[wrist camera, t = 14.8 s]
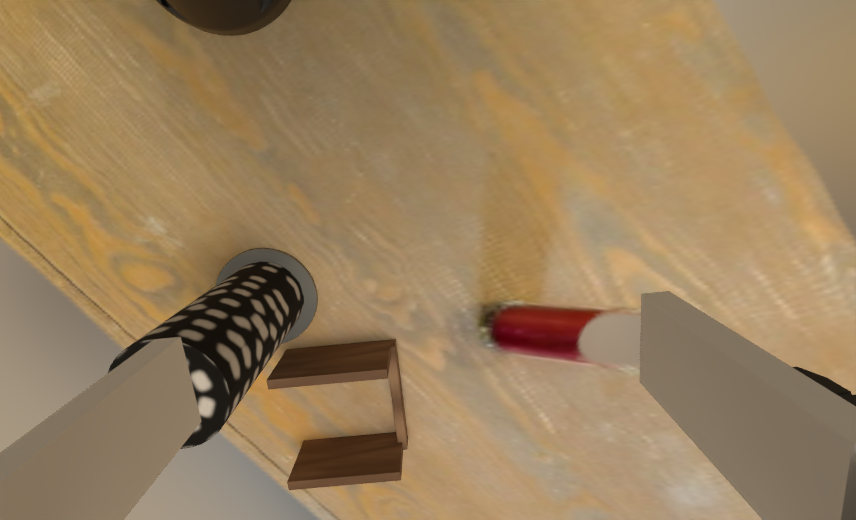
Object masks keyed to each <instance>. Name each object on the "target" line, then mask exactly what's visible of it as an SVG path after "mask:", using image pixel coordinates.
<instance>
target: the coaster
mask: <svg viewBox="0 0 856 520" xmlns="http://www.w3.org/2000/svg"><path fill="white" fill-rule="evenodd" d="M254 262H271V263H275V264H278V265H280V266H282V267H284V268H285V269H287V270H288V271H290V272H291V273H292V274H293V275H294V276H295V277H296V279H297V280H298V282H299V283H300V286H301V288H302V291H303V295H304V306H303V311H302V313H301V315H300V317H299V319H298V320H297V321H296V323H295V324H294V326H293V327H292V329H291V330H290V331H289V333H288V334H287V336H286V337H285V338H284V340H283V341H282V343H285V342H288V341H290V340H293V339H294V338H296V337H298V336H299V335H300V334H301V333H303V332H304V331H305V330H306V328H307V327H308V326H309V324H310V323H311V321H312V319H313V317H314V315H315V312H316V308H317V299H318V298H317V290H316V286H315V283H314V281H313V278H312V277H311V275H310V273H309V272H308V270H307V269H306V268H305V267H304V266H303V265H302V264H301V263H300V262H299V261H298V260H297V259H295V258H294V257H292V256H291V255H289V254H287V253H285V252H282V251H279V250H275V249H268V248H258V249H252V250H249V251H245V252H243V253H241V254H239V255H237V256H236V257H234V258H233V259H231V260H230V261H229V262H228V263H227V264H226V265H225V266H224V268H223V269H222V271H221V272H220V274H219V277H218V279H217V283H216V285H218V284H219V283H221V282H222V281H223V280H225V279H226V278H228V277H229V276H231V275H232V274H233V273H235V272H236V271H238V270H239V269H241V268H242V267H244V266H246V265H248V264H251V263H254ZM282 343H281V344H282Z"/></svg>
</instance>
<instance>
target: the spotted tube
mask: <svg viewBox="0 0 856 520" xmlns="http://www.w3.org/2000/svg"><path fill="white" fill-rule="evenodd" d="M303 306H304V295H303V291H302V288H301V286H300V283H299V282H298V280H297V279H296V277H295V276H294V275H293V274H292V273H291V272H290V271H288V270H287V269H285V268H284V267H282V266H280V265H278V264H275V263H271V262H254V263H251V264H248V265H246V266H244V267H242V268H241V269H239V270H238V271H236V272H235V273H233V274H232V275H231V276H229V277H228V278H226V279H225V280H223V281H222V282H221V283H219V284H218V285H216V286H215V287H213V288H212V289H211V290H209V291H208V292H206V293H205V294H203V295H202V296H201V297H199V298H198V299H196V300H195V301H193V302H192V303H190V304H189V305H188V306H186V307H185V308H183V309H182V310H180V311H179V312H178V313H176V314H175V315H173V316H172V317H170V318H169V319H168V320H166V321H165V322H163V323H162V324H160V325H159V326H158V327H156V328H155V329H153V330H152V331H150V332H149V333H148V334H146V335H145V336H143V337H142V338H140V339H139V340H138V341H136V342H135V343H133V344H132V345H130V346H129V347H127V348H126V349H125V350H123V351H122V352H121V353H120V354H119V355H118V356H117V357H116V358H115V360H114V361H113V363H112V364H111V366H110V368H109V371H108V373H109V372H111V371H112V370H113V369H115V368H116V367H117V366H119V365H120V364H121V363H123V362H124V361H125V360H127V359H128V358H130V357H131V356H132V355H134V354H135V353H136V352H138V351H139V350H140V349H142V348H143V347H144V346H146V345H147V344H149V343H150V342H151V341H153V340H154V339H163V338H174V337H181V341H182V345H183V349H184V353H185V357H186V361H187V365H188V369H189V373H190V377H191V381H192V385H193V389H194V393H195V397H196V401H197V405H198V409H199V413H200V417H201V421H202V422H201V423H200V424H199V425H198V427H197V428H196V429H195V430H194V432H193V433H192V434H191V436H190V437H189V438H188V439H187V441H186V442H185V443H184V444H183V446H182V447H181V448H180V449H183V448H190V447H194V446H197V445H200V444H202V443H204V442H206V441H207V440H209V439H211V438H212V437H213V436H214V435H215V434H217V433H218V432H219V430H220V429H221V428H222V426H223V425H224V424H225V422H226V421H227V419H228V418H229V416H230V415H231V414H232V412H233V411H234V409H235V408H236V407H237V405H238V404H239V402H240V401H241V399H242V398H243V397H244V395H245V394H246V392H247V391H248V390H249V388H250V387H251V385H252V384H253V382H254V381H255V380H256V378H257V377H258V375H259V374H260V373H261V371H262V370H263V368H264V367H265V365H266V364H267V363H268V361H269V360H270V358H271V357H272V356H273V354H274V353H275V351H276V350H277V348H278V347H279V346H280V344H281V343H282V341H283V340H284V338H285V337H286V336H287V334H288V333H289V331H290V330H291V329H292V327H293V326H294V324H295V323H296V321H297V320H298V319H299V317H300V315H301V313H302V311H303Z"/></svg>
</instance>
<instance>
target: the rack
mask: <svg viewBox="0 0 856 520" xmlns="http://www.w3.org/2000/svg"><path fill="white" fill-rule="evenodd" d="M388 373H389V379H390V386H391V394H392V402H393V409H394V417H395V425H396V432H395V433H384V434H373V435H362V436H351V437H340V438H329V439H318V440H306V441H304V442H303V444H302V447H301V449H300V452H299V454H298V457H297V459H296V462H295V464H294V467H293V469H292V472H291V474H290V477H289V479H288V482H287V483H288V488H289V490H295V489H307V488H318V487H329V486H341V485H352V484H363V483H375V482H386V481H397V480H401V473H402V458H403V450H406V449H407V446H408V435H407V427H406V419H405V411H404V403H403V395H402V387H401V379H400V371H399V362H398V354H397V346H396V339H395V340H384V341H374V342H363V343H352V344H341V345H331V346H320V347H309V348H298V349H288V350H286V351H285V353H284V355H283V356H282V358H281V359H280V361H279V362H278V364H277V365H276V367H275V368H274V370H273V371H272V373H271V374H270V376H269V377H268V379H267V385H268V389H277V388H288V387H299V386H310V385H321V384H331V383H342V382H353V381H364V380H375V379H386V378H388Z"/></svg>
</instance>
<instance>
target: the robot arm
mask: <svg viewBox="0 0 856 520" xmlns="http://www.w3.org/2000/svg"><path fill="white" fill-rule="evenodd" d="M156 1H157V2H158V3H159V4H160V5H161V6H162V7H163V8H165V9H166V10H167V11H168V12H170V13H171V14H172V15H174V16H175V17H177V18H178V19H180V20H182V21H184V22H186V23H188V24H190V25H192V26H194V27H196V28H198V29H200V30H203V31H206V32H209V33H213V34H218V35H231V36H232V35H242V34H247V33H250V32H253V31H256V30H258V29H260V28H262V27H264V26H266V25H268V24H269V23H271V22H272V21H273V20H274V19H276V18H277V17H278V16H279V15H280V14H281V13H282V12H283V10H284V9H285V8H286V7H287V5H288V4H289V2H290V1H291V0H156ZM640 342H641V343H640V383H641V384H642V385H643V386H644V387H645V388H646V390H647V391H648V392H649V393H650V394H651V395H652V396H653V397H654V399H655V400H656V401H657V402H658V403H659V404H660V405H661V406H662V407H663V409H664V410H665V411H666V412H667V413H668V414H669V415H670V416H671V418H672V419H673V420H674V421H675V422H676V423H677V424H678V425H679V427H680V428H681V429H682V430H683V431H684V432H685V433H686V434H687V435H688V437H689V438H690V439H691V440H692V441H693V442H694V443H695V444H696V446H697V447H698V448H699V449H700V450H701V451H702V452H703V453H704V454H705V456H706V457H707V458H708V459H709V460H710V461H711V462H712V463H713V465H714V466H715V467H716V468H717V469H718V470H719V471H720V472H721V474H722V475H723V476H724V477H725V478H726V479H727V480H728V481H729V482H730V484H731V485H732V486H733V487H734V488H735V489H736V490H737V491H738V493H739V494H740V495H741V496H742V497H743V498H744V499H745V500H746V501H747V503H748V504H749V505H750V506H751V507H752V508H753V509H754V510H755V512H756V513H757V514H758V515H759V516H760V517H761V518H762V519H763V520H856V395H852V394H851V392H850V391H848V390H847V389H845V388H843V387H842V386H840V385H838V384H837V383H835V382H833V381H832V380H830V379H828V378H826V377H823V376H821V375H818V374H815V373H813V372H810V371H807V370H804V369H802V368H799V367H791V366H789V365H788V364H786V363H784V362H783V361H781V360H780V359H778V358H776V357H775V356H773V355H771V354H770V353H768V352H767V351H765V350H763V349H762V348H760V347H758V346H757V345H755V344H754V343H752V342H750V341H749V340H747V339H745V338H744V337H742V336H741V335H739V334H737V333H736V332H734V331H732V330H731V329H729V328H728V327H726V326H724V325H723V324H721V323H719V322H718V321H716V320H715V319H713V318H711V317H710V316H708V315H707V314H705V313H703V312H702V311H700V310H698V309H697V308H695V307H694V306H692V305H690V304H689V303H687V302H685V301H684V300H682V299H681V298H679V297H677V296H676V295H674V294H672V293H671V292H669V291H666V292H655V293H644V294H641V339H640ZM201 422H202V421H201V417H200V413H199V409H198V405H197V401H196V397H195V393H194V389H193V385H192V381H191V377H190V373H189V369H188V365H187V361H186V357H185V353H184V349H183V345H182V341H181V337H174V338H163V339H154V340H153V341H151V342H150V343H149V344H147V345H146V346H144V347H143V348H142V349H140V350H139V351H138V352H136V353H135V354H134V355H132V356H131V357H130V358H128V359H127V360H125V361H124V362H123V363H121V364H120V365H119V366H117V367H116V368H115V369H113V370H112V371H111V372H109V373H108V374H107V375H105V376H104V377H102V378H101V379H100V380H98V381H97V382H96V383H94V384H93V385H92V386H90V387H89V388H87V389H86V390H85V391H83V392H82V393H81V394H79V395H78V396H77V397H75V398H74V399H73V400H71V401H70V402H69V403H67V404H66V405H64V406H63V407H62V408H60V409H59V410H58V411H56V412H55V413H54V414H52V415H51V416H49V417H48V418H47V419H45V420H44V421H43V422H41V423H40V424H39V425H37V426H36V427H35V428H33V429H32V430H31V431H29V432H28V433H27V434H25V435H24V436H22V437H21V438H20V439H18V440H17V441H16V442H14V443H13V444H11V445H10V446H9V447H8V448H6V449H5V450H3V451H2V452H1V453H0V520H124V519H125V518H126V516H127V515H128V514H129V513H130V511H131V510H132V509H133V508H134V506H135V505H136V504H137V502H138V501H139V500H140V499H141V497H142V496H143V495H144V494H145V492H146V491H147V490H148V489H149V487H150V486H151V485H152V484H153V482H154V481H155V480H156V478H157V477H158V476H159V475H160V473H161V472H162V471H163V470H164V468H165V467H166V466H167V465H168V463H169V462H170V461H171V459H172V458H173V457H174V456H175V454H176V453H177V452H178V451H179V449H180V448H181V447H182V446H183V444H184V443H185V442H186V441H187V439H188V438H189V437H190V436H191V434H192V433H193V432H194V430H195V429H196V428H197V427H198V425H199V424H200V423H201Z"/></svg>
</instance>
